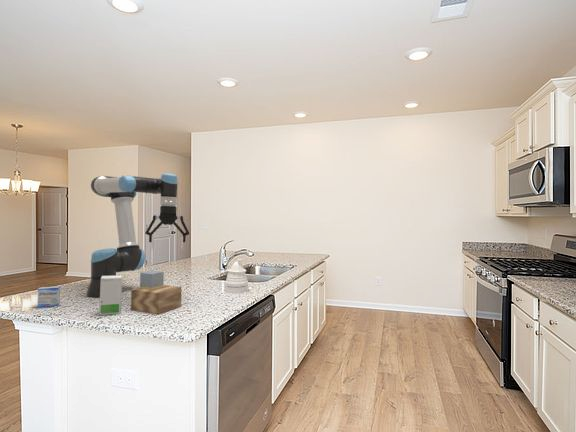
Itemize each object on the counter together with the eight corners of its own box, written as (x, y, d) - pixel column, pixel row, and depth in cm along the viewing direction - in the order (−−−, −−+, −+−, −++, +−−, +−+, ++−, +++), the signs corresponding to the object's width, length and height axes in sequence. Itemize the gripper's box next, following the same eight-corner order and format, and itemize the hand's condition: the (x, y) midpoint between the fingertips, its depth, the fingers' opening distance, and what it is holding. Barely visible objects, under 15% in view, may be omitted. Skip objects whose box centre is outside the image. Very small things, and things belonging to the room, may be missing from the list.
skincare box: (98, 315, 141) (99, 278, 141) (100, 311, 147) (101, 275, 147) (121, 313, 144) (121, 277, 144) (122, 309, 150) (122, 274, 150)
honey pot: (252, 290, 192) (253, 258, 192) (237, 294, 182) (238, 261, 182) (235, 287, 199) (236, 257, 199) (220, 291, 189) (220, 259, 188)
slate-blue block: (140, 288, 153) (140, 272, 153) (151, 285, 159) (152, 270, 159) (151, 289, 150) (152, 274, 150) (163, 286, 157) (163, 271, 156)
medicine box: (37, 308, 150) (37, 288, 150) (39, 306, 154) (39, 286, 154) (58, 306, 153) (59, 287, 153) (60, 304, 157) (60, 285, 157)
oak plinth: (130, 309, 150) (131, 289, 150) (154, 302, 163) (154, 283, 163) (158, 314, 144) (159, 293, 144) (181, 306, 157) (181, 287, 157)
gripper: (140, 204, 157) (138, 250, 158) (195, 206, 166) (194, 249, 166) (141, 204, 165) (140, 248, 165) (194, 206, 173) (193, 248, 173)
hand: (167, 249), depth 166 cm, fingers open, 13 cm apart
